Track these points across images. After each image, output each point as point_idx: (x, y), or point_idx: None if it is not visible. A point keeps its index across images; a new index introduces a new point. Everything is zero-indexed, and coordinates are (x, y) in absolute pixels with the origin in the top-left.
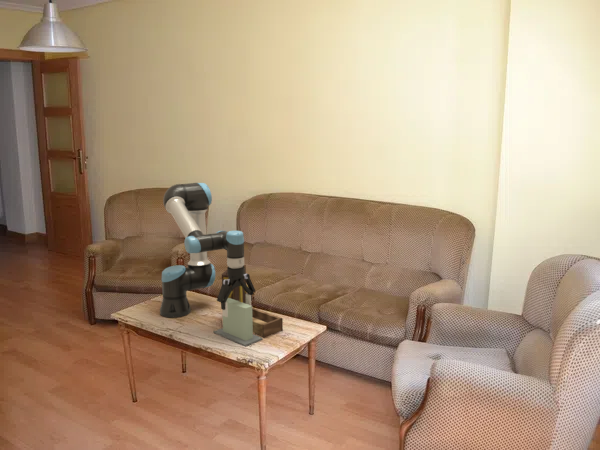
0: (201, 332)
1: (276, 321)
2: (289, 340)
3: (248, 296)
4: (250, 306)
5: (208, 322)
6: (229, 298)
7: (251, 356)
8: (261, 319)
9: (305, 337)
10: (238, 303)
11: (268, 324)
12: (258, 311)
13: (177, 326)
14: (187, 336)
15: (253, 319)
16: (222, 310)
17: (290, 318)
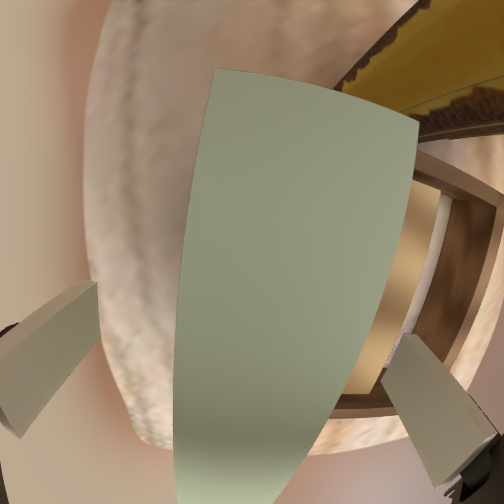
0: (182, 56)
1: (391, 412)
2: (325, 435)
3: (441, 461)
4: None
5: (314, 7)
6: (395, 161)
7: (140, 407)
8: (451, 273)
9: (365, 445)
10: (242, 450)
11: (343, 415)
12: (483, 263)
13: None
14: (112, 51)
15: (388, 312)
16: (50, 302)
17: (496, 319)
